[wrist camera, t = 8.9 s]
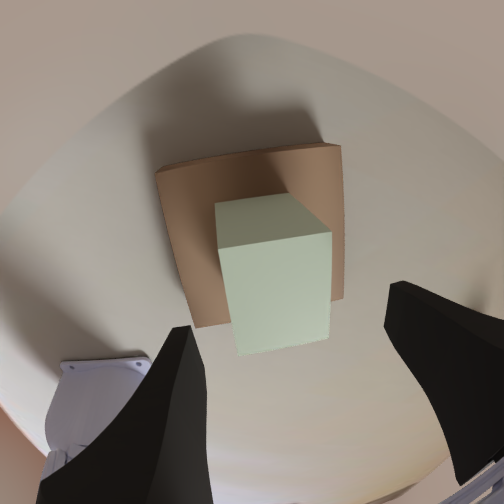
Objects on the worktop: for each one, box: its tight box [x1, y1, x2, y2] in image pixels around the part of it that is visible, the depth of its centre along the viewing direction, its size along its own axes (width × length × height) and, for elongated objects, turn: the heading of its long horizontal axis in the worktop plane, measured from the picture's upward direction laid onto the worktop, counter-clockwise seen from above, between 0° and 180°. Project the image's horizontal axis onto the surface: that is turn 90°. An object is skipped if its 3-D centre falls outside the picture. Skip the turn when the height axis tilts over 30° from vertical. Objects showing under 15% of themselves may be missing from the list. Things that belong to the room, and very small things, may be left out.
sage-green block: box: [215, 193, 332, 356], centre depth 14 cm, size 4×5×6 cm
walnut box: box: [155, 142, 345, 328], centre depth 18 cm, size 10×10×3 cm
